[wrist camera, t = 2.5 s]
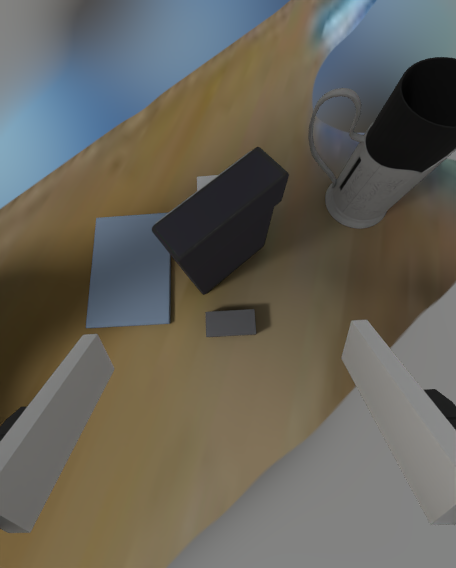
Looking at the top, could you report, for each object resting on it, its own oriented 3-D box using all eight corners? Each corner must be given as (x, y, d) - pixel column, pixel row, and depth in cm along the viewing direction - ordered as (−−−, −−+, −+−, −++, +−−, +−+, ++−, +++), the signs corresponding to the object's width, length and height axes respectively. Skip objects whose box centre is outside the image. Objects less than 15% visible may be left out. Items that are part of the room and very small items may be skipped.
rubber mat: (88, 328, 30) (85, 327, 30) (98, 220, 34) (96, 218, 34) (170, 323, 30) (168, 323, 29) (171, 214, 34) (170, 212, 33)
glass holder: (382, 235, 32) (505, 144, 17) (282, 210, 33) (315, 109, 19) (391, 182, 33) (509, 60, 19) (295, 161, 35) (336, 35, 20)
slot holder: (206, 337, 29) (200, 336, 24) (203, 199, 34) (196, 176, 29) (256, 334, 29) (260, 333, 24) (245, 196, 34) (246, 172, 29)
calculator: (247, 227, 33) (253, 137, 18) (267, 248, 32) (291, 171, 17) (187, 275, 31) (142, 220, 17) (206, 299, 31) (177, 261, 16)
